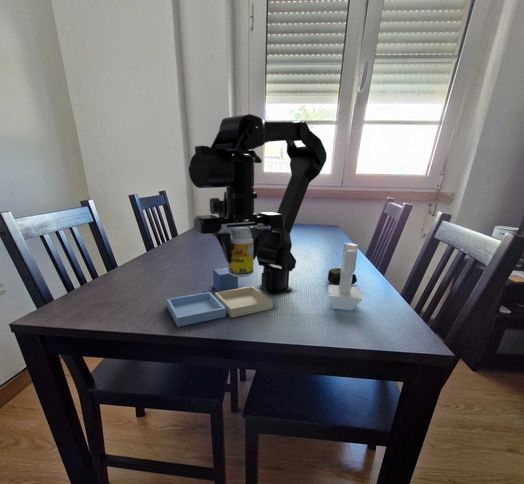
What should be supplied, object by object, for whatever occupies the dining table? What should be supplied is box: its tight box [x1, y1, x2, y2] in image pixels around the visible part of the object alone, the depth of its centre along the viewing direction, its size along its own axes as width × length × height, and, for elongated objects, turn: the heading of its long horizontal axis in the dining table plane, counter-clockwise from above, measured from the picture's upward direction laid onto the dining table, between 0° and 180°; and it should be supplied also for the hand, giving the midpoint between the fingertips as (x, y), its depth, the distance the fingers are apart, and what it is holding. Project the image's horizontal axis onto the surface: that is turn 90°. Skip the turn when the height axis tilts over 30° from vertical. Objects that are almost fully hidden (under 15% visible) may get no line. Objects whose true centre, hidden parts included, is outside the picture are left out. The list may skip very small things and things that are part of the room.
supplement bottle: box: [228, 226, 254, 278], centre depth 62 cm, size 6×6×10 cm
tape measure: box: [327, 267, 358, 286], centre depth 80 cm, size 7×7×4 cm
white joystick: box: [328, 242, 363, 311], centre depth 64 cm, size 7×9×15 cm
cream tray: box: [214, 285, 274, 319], centre depth 66 cm, size 10×10×2 cm
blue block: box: [212, 266, 239, 292], centre depth 74 cm, size 5×5×5 cm
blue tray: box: [166, 291, 227, 328], centre depth 62 cm, size 10×10×2 cm
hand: (241, 261), depth 63 cm, fingers closed on supplement bottle, 5 cm apart
